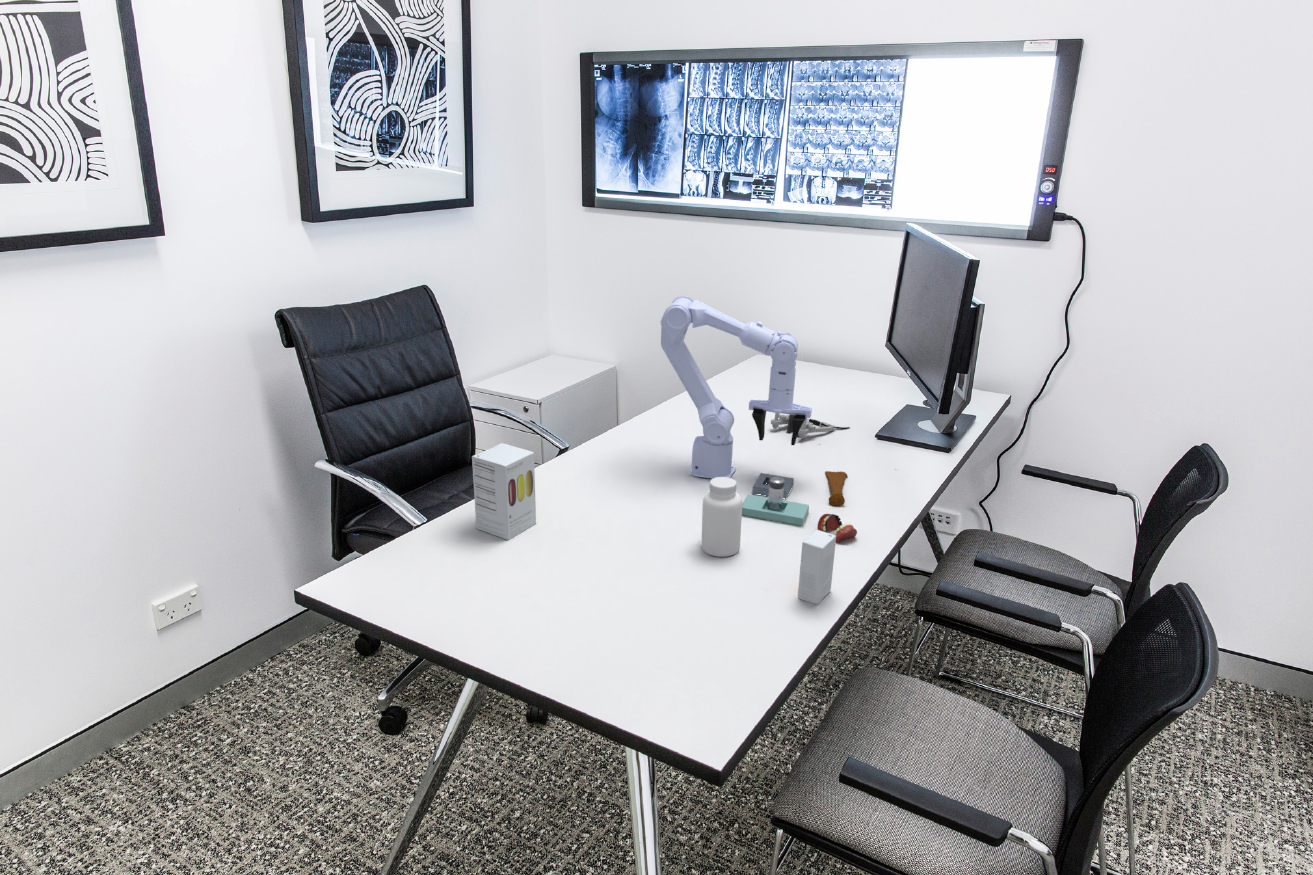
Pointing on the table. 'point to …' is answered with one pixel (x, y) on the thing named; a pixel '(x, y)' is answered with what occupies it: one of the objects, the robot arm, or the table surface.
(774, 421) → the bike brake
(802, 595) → the skincare box
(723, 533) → the pill bottle
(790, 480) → the socket block
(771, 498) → the glass vial
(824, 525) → the dentures
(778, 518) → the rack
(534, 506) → the supplement box
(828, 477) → the primitive tool
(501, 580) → the table surface
